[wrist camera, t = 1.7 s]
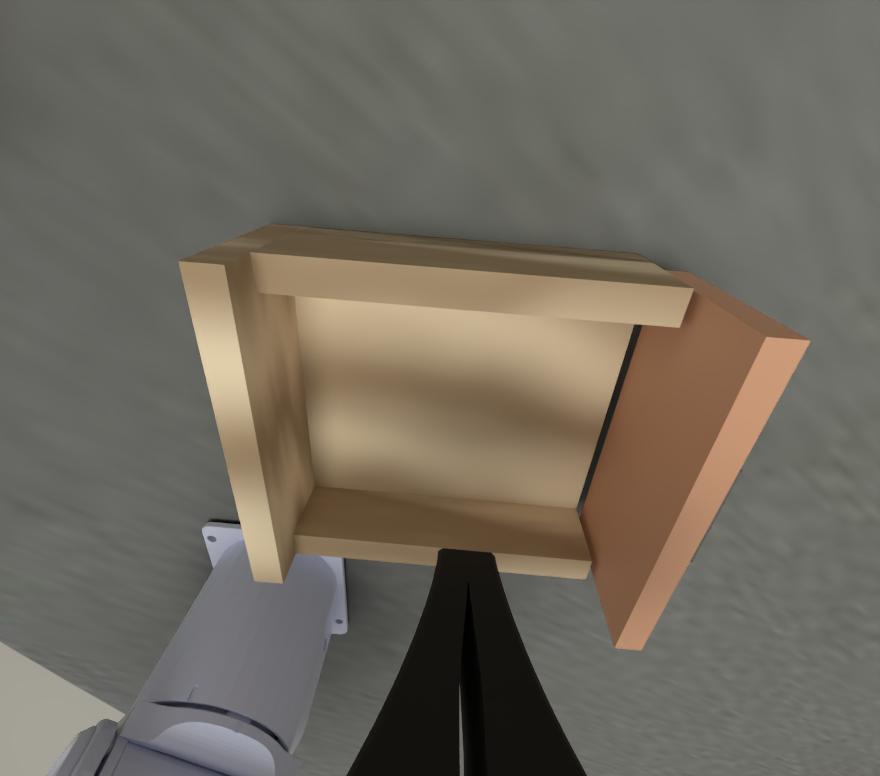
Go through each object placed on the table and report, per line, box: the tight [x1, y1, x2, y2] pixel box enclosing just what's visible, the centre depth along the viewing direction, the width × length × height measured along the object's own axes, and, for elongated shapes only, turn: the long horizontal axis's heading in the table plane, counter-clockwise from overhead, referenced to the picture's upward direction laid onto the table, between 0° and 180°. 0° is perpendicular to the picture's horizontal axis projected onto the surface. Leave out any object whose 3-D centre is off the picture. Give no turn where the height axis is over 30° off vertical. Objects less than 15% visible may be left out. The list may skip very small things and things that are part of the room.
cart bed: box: [178, 224, 694, 584], centre depth 17 cm, size 13×14×6 cm
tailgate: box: [579, 270, 811, 650], centre depth 15 cm, size 13×2×6 cm, turn 176°
